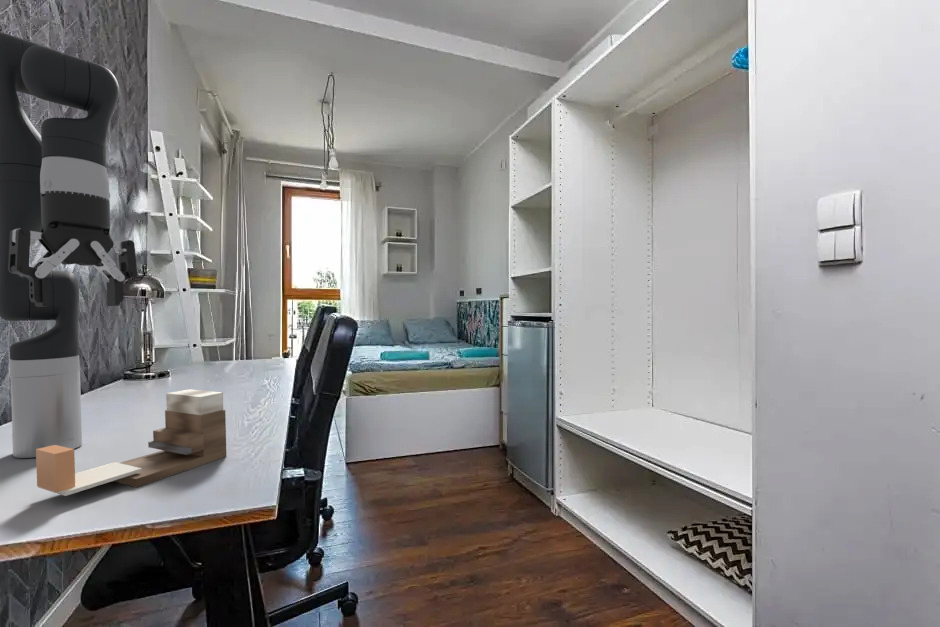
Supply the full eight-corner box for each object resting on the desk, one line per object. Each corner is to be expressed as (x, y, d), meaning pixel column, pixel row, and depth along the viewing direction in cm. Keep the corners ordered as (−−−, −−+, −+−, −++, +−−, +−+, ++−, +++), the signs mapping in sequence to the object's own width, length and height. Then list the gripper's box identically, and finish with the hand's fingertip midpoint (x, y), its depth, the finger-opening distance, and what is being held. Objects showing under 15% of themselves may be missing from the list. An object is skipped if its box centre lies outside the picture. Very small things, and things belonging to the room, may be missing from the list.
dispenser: (97, 477, 67) (95, 405, 67) (189, 449, 80) (187, 389, 80) (136, 487, 63) (134, 410, 63) (226, 456, 76) (224, 392, 75)
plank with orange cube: (33, 488, 59) (32, 448, 59) (114, 465, 68) (113, 429, 68) (60, 497, 56) (59, 454, 56) (141, 471, 65) (140, 434, 65)
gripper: (117, 207, 72) (120, 306, 72) (-4, 187, 59) (0, 307, 59) (144, 202, 69) (147, 305, 69) (23, 179, 56) (27, 306, 56)
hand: (79, 306), depth 64 cm, fingers open, 8 cm apart
